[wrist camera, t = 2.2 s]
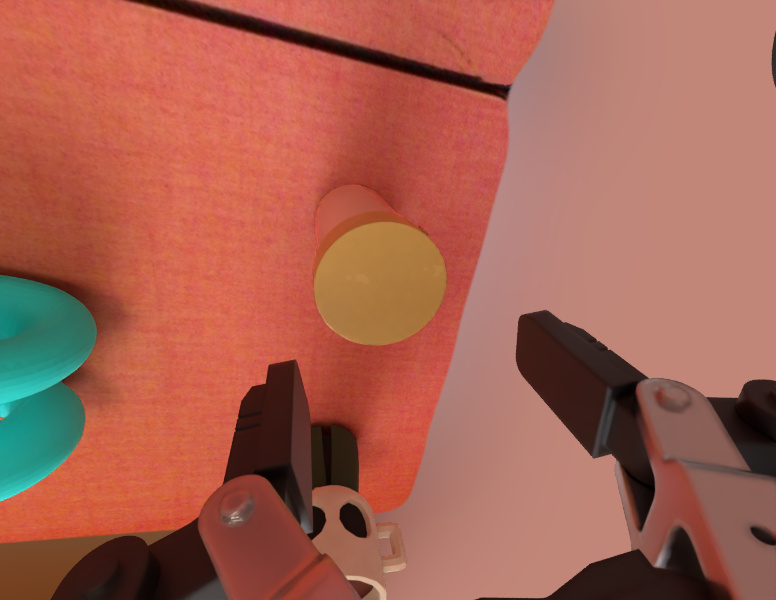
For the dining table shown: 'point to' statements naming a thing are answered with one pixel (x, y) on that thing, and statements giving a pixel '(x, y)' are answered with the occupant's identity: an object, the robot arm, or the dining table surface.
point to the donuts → (39, 379)
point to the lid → (378, 278)
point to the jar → (345, 207)
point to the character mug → (349, 516)
